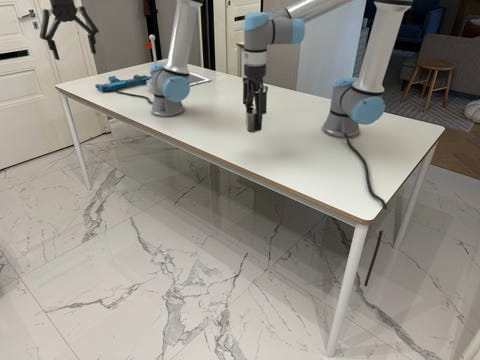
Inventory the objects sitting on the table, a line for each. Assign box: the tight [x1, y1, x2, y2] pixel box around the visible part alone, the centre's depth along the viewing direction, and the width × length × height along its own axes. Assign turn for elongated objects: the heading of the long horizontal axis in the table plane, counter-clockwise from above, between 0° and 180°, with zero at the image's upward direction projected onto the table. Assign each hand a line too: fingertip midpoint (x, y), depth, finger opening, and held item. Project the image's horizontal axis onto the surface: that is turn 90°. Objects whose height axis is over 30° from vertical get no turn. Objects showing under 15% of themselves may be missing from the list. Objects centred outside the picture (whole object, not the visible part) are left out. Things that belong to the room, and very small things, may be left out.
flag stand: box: [143, 34, 158, 94], centre depth 188 cm, size 13×13×30 cm
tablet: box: [188, 71, 212, 87], centre depth 216 cm, size 32×20×1 cm, turn 41°
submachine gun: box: [94, 74, 151, 92], centre depth 206 cm, size 34×4×25 cm
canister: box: [245, 108, 262, 134], centre depth 125 cm, size 5×5×7 cm
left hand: (76, 56), depth 128 cm, fingers open, 13 cm apart
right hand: (253, 127), depth 127 cm, fingers closed on canister, 5 cm apart
